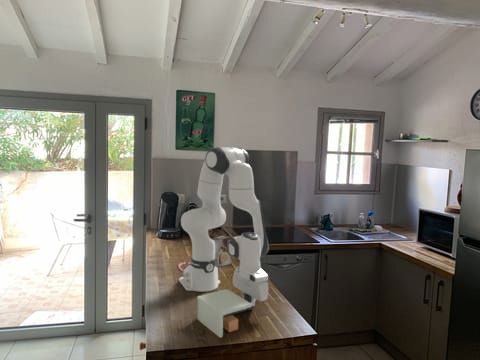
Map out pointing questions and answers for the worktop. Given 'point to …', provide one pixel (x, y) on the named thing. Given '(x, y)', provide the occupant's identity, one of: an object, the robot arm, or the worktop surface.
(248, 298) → the hook tool
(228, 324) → the cube
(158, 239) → the worktop surface
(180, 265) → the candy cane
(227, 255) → the coffee box
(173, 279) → the worktop surface
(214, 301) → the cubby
